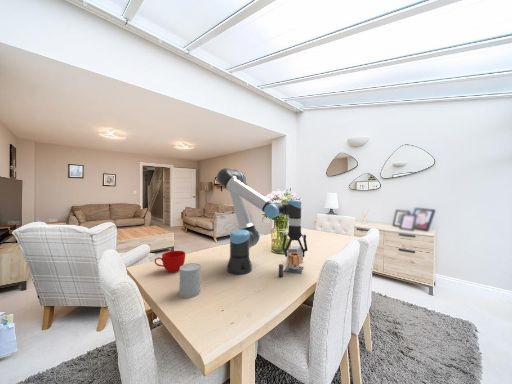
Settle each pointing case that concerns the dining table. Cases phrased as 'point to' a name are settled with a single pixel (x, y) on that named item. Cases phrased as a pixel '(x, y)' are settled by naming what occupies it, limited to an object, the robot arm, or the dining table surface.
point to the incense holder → (295, 249)
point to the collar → (294, 258)
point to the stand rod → (280, 270)
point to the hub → (294, 268)
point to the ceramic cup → (172, 260)
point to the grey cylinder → (189, 280)
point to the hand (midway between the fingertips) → (294, 261)
